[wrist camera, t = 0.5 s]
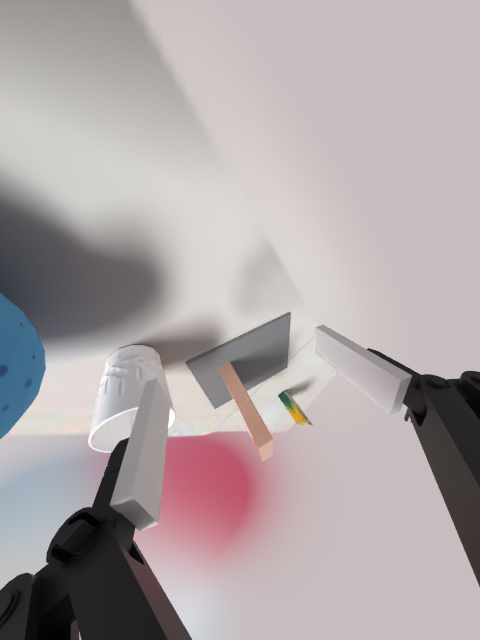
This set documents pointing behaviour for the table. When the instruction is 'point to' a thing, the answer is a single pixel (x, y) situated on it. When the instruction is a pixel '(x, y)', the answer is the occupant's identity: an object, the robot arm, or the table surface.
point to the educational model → (18, 364)
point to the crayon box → (293, 408)
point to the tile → (248, 412)
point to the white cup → (124, 394)
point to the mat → (244, 359)
